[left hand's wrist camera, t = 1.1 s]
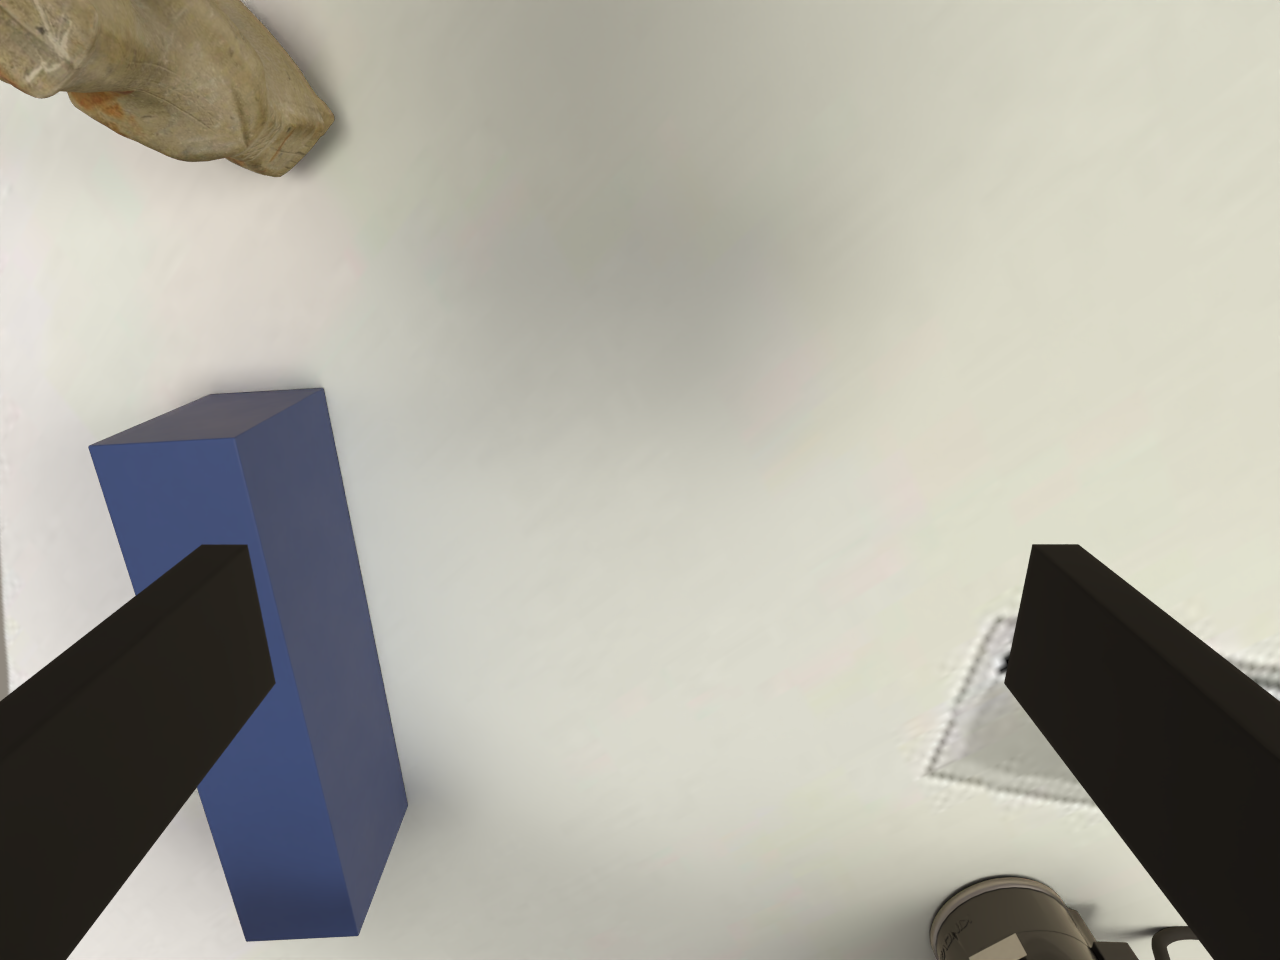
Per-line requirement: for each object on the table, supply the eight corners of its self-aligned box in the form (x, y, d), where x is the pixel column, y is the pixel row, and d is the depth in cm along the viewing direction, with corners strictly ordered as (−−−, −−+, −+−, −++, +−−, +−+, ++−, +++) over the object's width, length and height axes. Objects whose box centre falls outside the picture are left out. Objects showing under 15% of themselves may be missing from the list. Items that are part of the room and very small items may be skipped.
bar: (209, 394, 38) (87, 446, 30) (323, 387, 38) (234, 437, 30) (315, 810, 47) (245, 942, 39) (408, 805, 47) (358, 936, 39)
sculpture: (252, -25, 32) (-48, -215, 18) (371, 121, 34) (185, 53, 20) (162, 68, 33) (-186, -41, 19) (282, 204, 35) (47, 196, 21)
